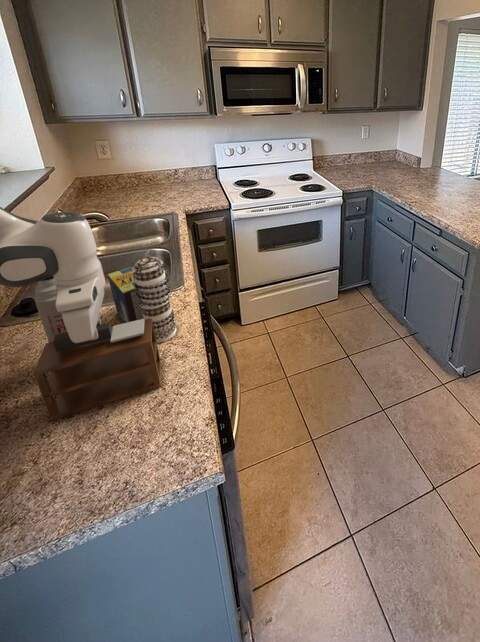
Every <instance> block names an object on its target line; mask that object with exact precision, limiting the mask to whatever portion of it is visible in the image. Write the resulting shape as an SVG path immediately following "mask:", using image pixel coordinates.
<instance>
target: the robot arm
mask: <svg viewBox="0 0 480 642" xmlns="http://www.w3.org/2000/svg"><path fill="white" fill-rule="evenodd" d="M97 250H98V248H97V243H96V239H95V237H94V233H93V230H92V228H91V226H90V223H89V222H88V220H87V219H86V218H85V216H83V215H81V214H79V213H75V212H70V211H59V212H52V213H48V214H45V215H43V216H42V217H41V218H40V219H39V220H36V219H31V218H26V217H22V216H20V215H16V214H14V213H13V212H11V211H8V210H7V209H5V208H3V207H1V206H0V286H3V287H7V288H21V287H26V286H30V285H33V284H35V283H38V282H39V281H42V280H44V279H47V278H49V277H51V276H53V277H54V280H55V283H56V290H57V296H56V309H57V311H58V312H62V317H63V321H64V324H65V327H66V329H67V332H68V334H69V337H70V339H71V340H72V341H73V342H74V343H80V342H85V341H88V340H95V339H98V336H99V332H98V329H96V325H100V324H102V321H101V311H102V310H101V309H102V305H103V302H104V297H105V286H106V283H107V282H106V278H105V273H104V270H103V266H102V262H101V261H100V260H99V258H98V255H97V253H98V251H97Z"/></svg>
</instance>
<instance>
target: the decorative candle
mask: <svg viewBox="0 0 480 642" xmlns="http://www.w3.org/2000/svg"><path fill="white" fill-rule="evenodd" d="M132 266H133V267H132V270H133V271H134V274H135V282H136V284H135V286H134V287H135V291H136V295H138V296H137V297H138V301H139V302H140V303H139V305H140V307H141V308H142V310H143V319H149V318H152V322H153V327H154V332H155V336H156V341H157V344H160V343H163V342H166V341H168V340H170V339H172V338H173V337H174V336H175V335H176V333H177V323H176V319H175V313H174V309H172V303H171V302H170V300H171V297H172V296H171V289H170V284H169V282H170V280H169V274H168V273H167V272H166V271H165V269H164V260H162V259H159V258H158V257H156V256H146V257H142V258H140V259H138V260H137V261H136V262H135V264H134V265H132ZM137 287H138V289H137Z"/></svg>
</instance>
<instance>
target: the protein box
mask: <svg viewBox="0 0 480 642" xmlns="http://www.w3.org/2000/svg"><path fill="white" fill-rule="evenodd" d="M133 266H134V265H131V266H128V267H125V268H122V269H120V270H116V271H114V272H110V273H107V279H108V283H109V286H110V290H111V295H112V299H113V302H114V307H115V310H116V313H117V316H118V318H119V319H120V321H121V322H122V324H124V323H128V322H132V321H136V320H140V319H143V310H142V308H141V307H140V305H139V303H140V302H139V301H138V297H137V296H138V295H136V291H135V287H134V286H135V284H136V282H135V274H134V271H133V270H132V267H133ZM137 289H138V287H137Z"/></svg>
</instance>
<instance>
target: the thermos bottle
mask: <svg viewBox="0 0 480 642" xmlns="http://www.w3.org/2000/svg"><path fill="white" fill-rule="evenodd" d="M34 293H35V296H34V297H33V299H34V303H35V306H36V309H37V312H38V315H39V318H40V320H41V324H42V326H43V330H44V333H45V335H46V338H47V341H48V343H49V342H53V340H54V338H55V335H57V334H62V333H66V332H67V329H66V327H65V324H64V321H63V317H62V312H58V311H57V309H56V296H57V290H56V283H55V280H54V277H53V276H51V277H49V278H47V279H44V280H42V281H39V282H37V286H35V289H34Z"/></svg>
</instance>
